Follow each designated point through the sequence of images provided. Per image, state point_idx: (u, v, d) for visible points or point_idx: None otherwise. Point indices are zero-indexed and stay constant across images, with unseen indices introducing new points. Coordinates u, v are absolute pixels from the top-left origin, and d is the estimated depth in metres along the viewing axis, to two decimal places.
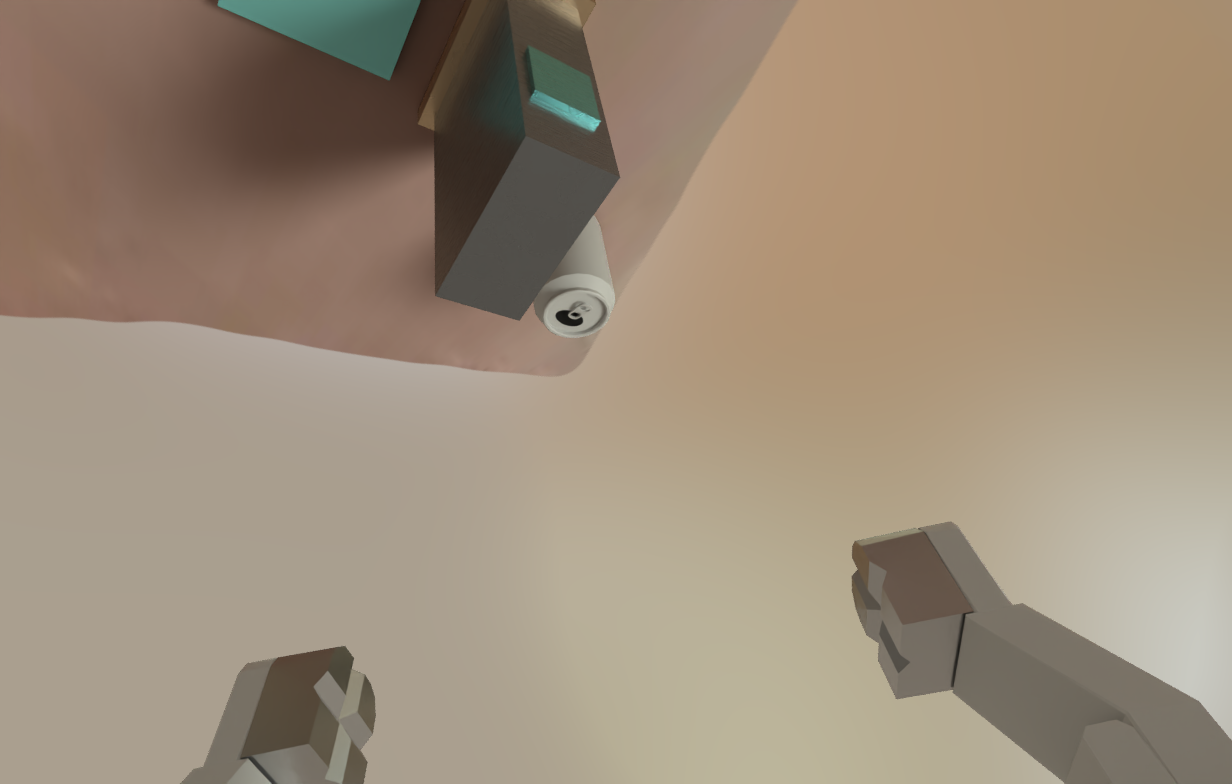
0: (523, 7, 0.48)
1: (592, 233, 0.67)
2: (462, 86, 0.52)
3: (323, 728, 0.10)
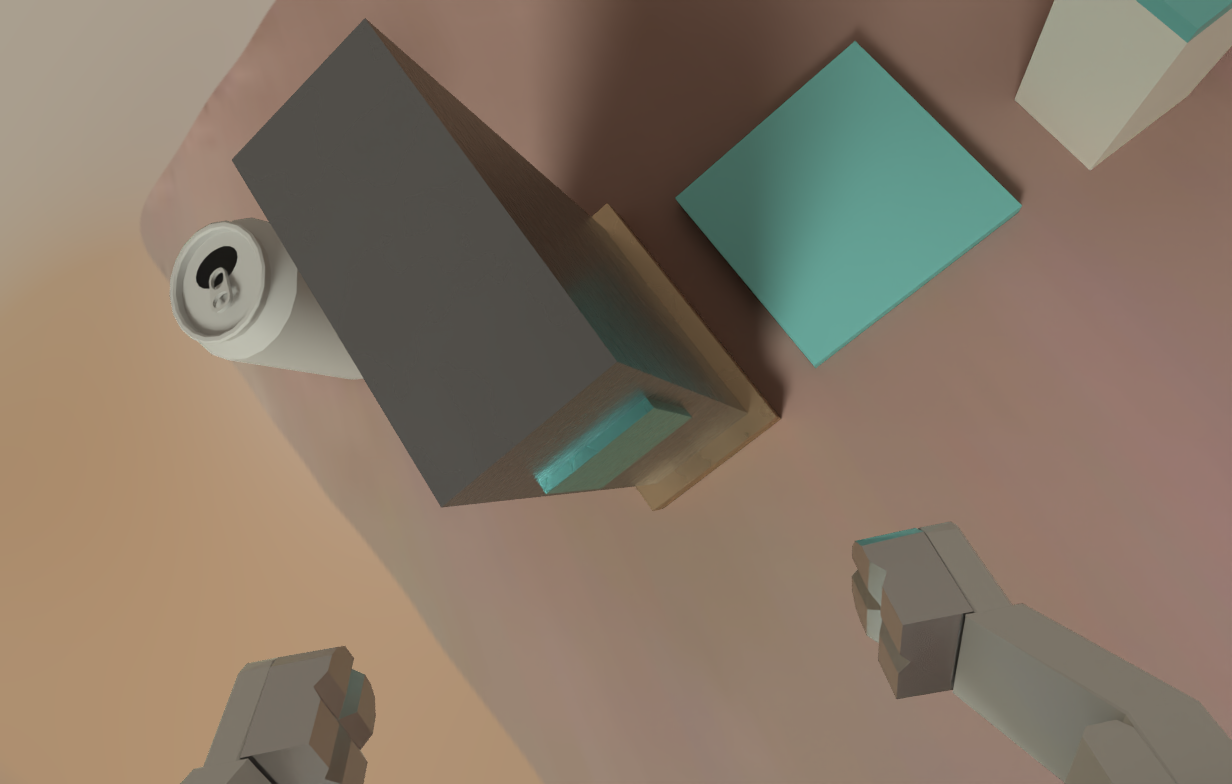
0: (710, 423, 0.32)
1: (344, 366, 0.42)
2: (641, 287, 0.35)
3: (323, 728, 0.10)
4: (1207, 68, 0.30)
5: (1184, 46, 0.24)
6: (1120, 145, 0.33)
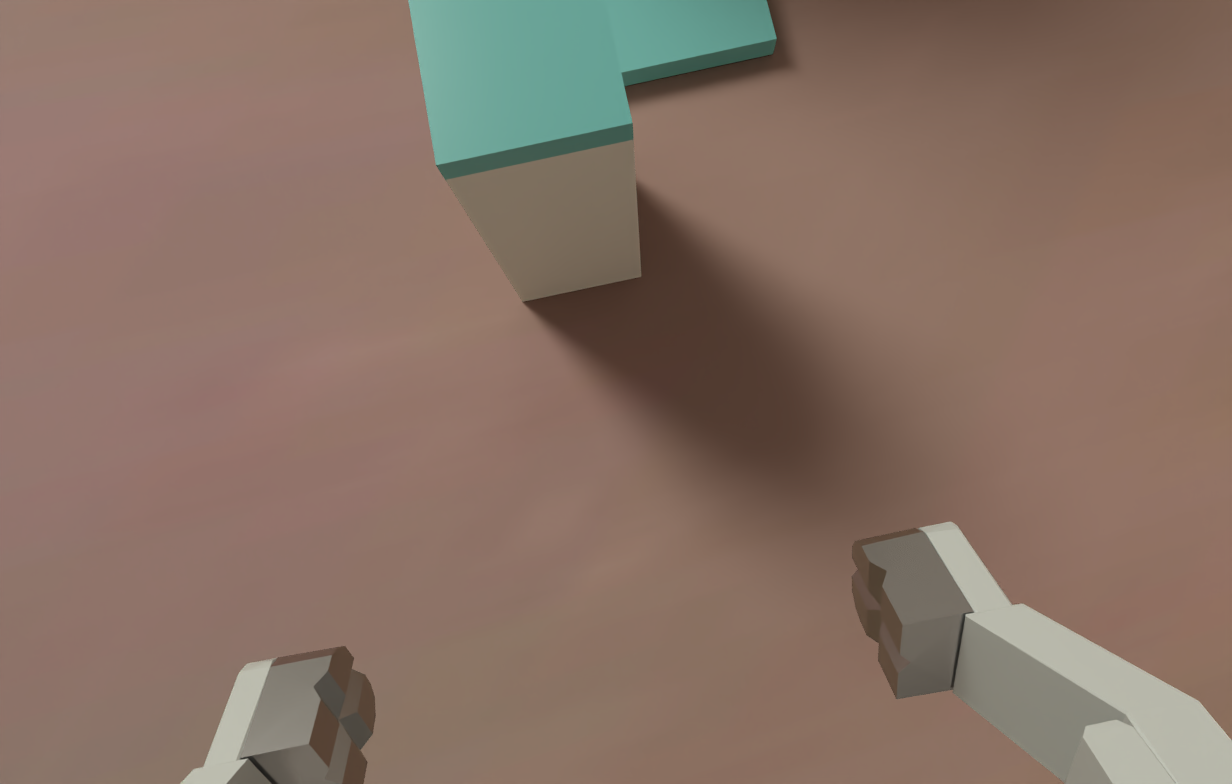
0: None
1: None
2: None
3: (323, 728, 0.10)
4: None
5: None
6: None
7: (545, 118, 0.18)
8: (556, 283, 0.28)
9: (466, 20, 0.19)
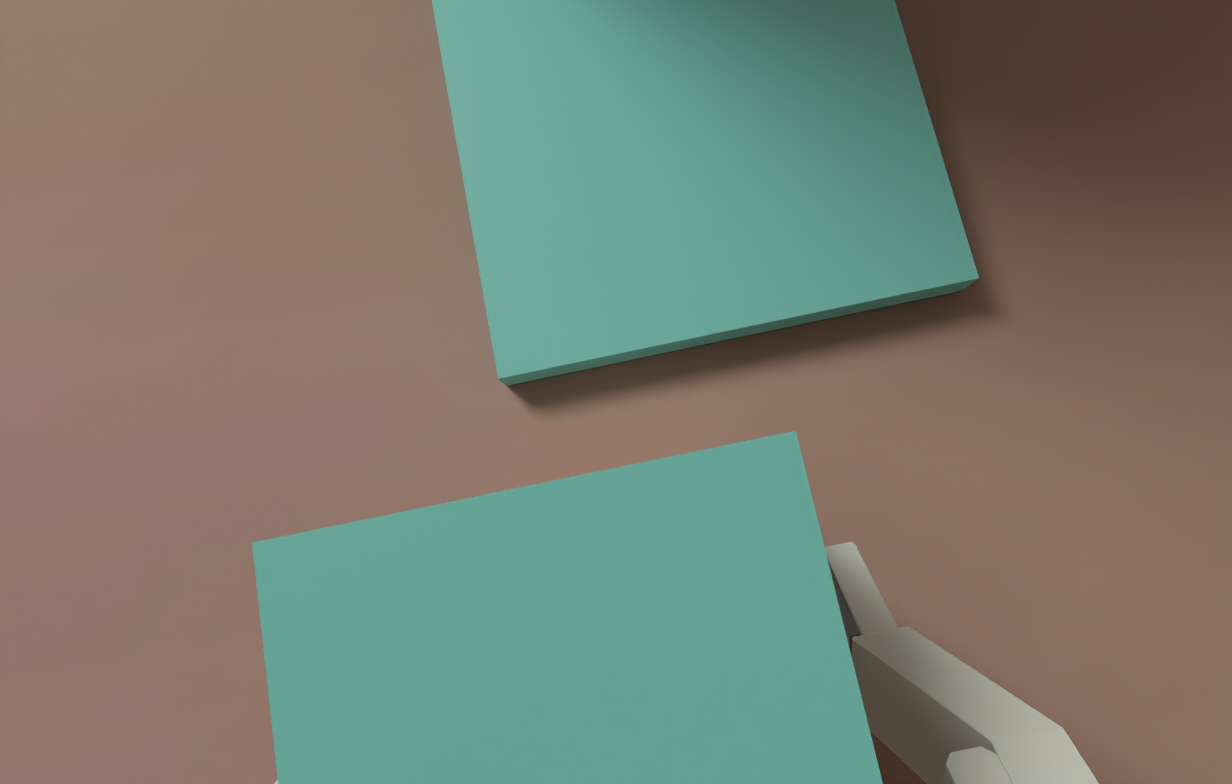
0: None
1: None
2: None
3: None
4: None
5: None
6: None
7: None
8: None
9: (421, 650, 0.06)
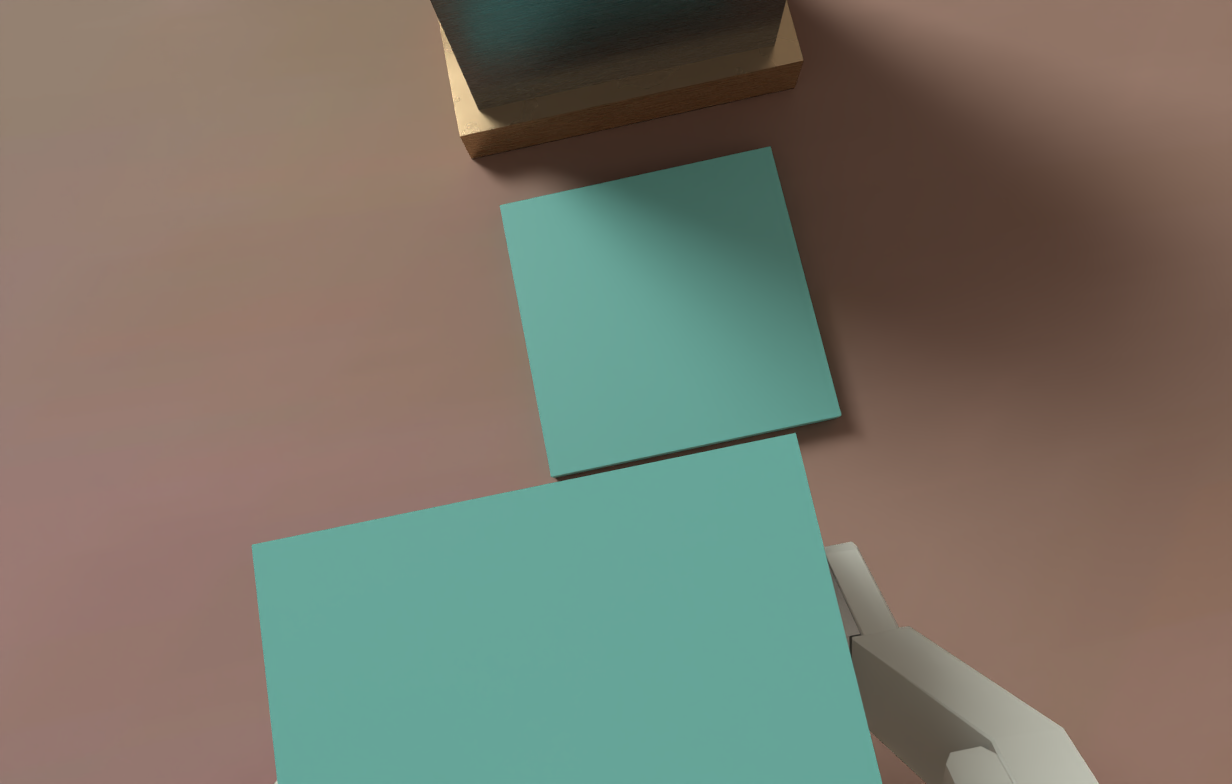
0: None
1: None
2: (646, 13, 0.27)
3: None
4: None
5: None
6: None
7: None
8: None
9: (420, 652, 0.06)
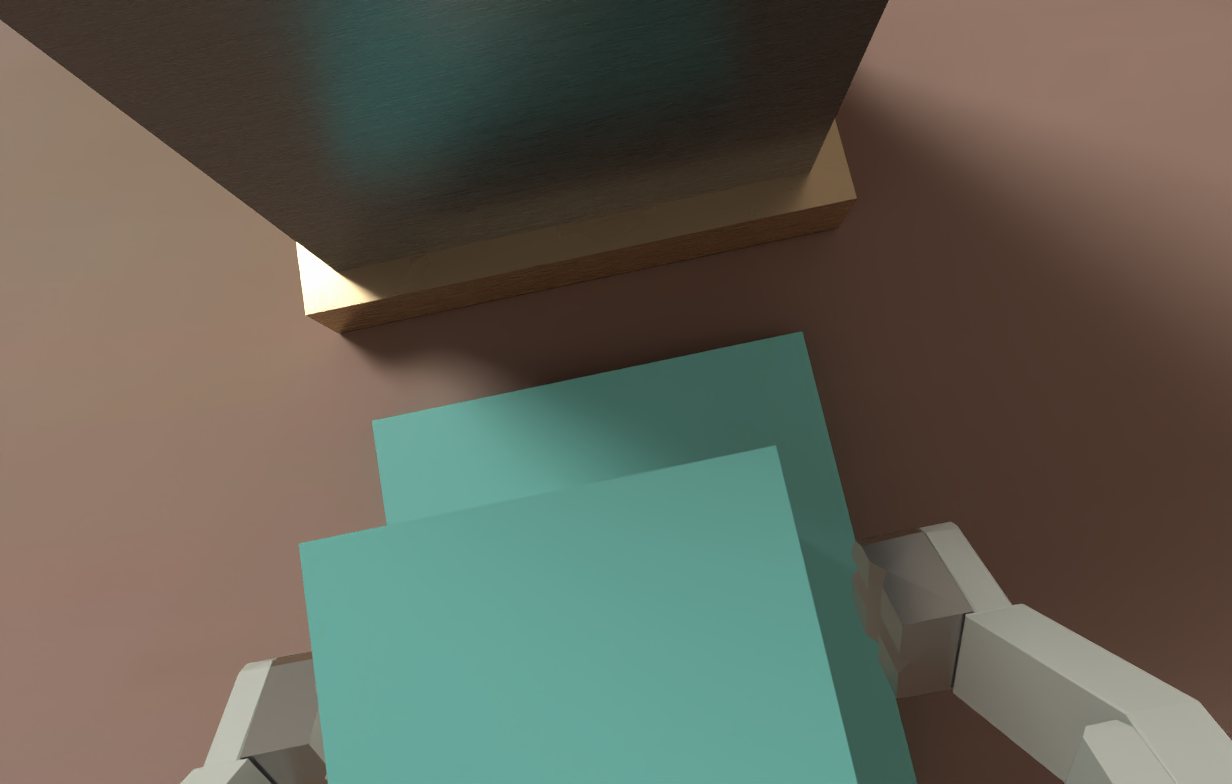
0: None
1: None
2: (593, 145, 0.16)
3: None
4: None
5: None
6: None
7: None
8: None
9: (448, 636, 0.07)
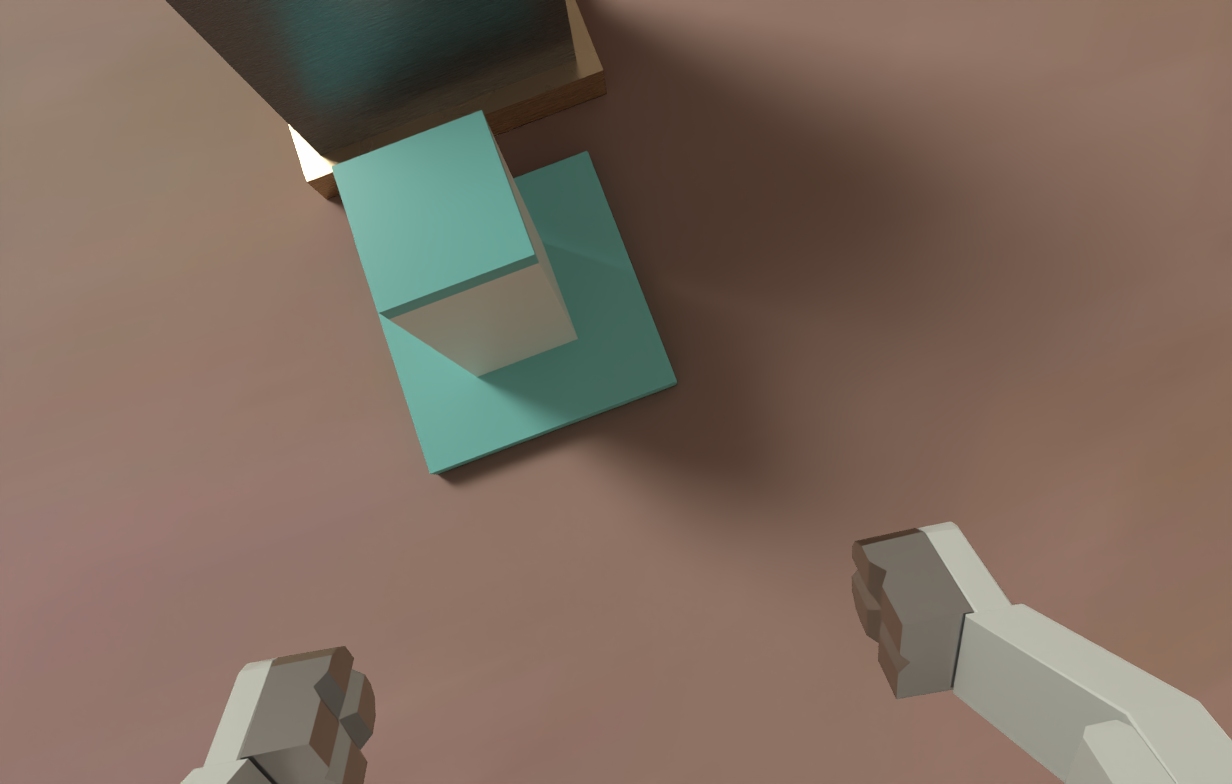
0: None
1: None
2: (443, 53, 0.30)
3: (323, 728, 0.10)
4: None
5: None
6: None
7: (462, 260, 0.22)
8: (503, 359, 0.32)
9: (384, 185, 0.22)
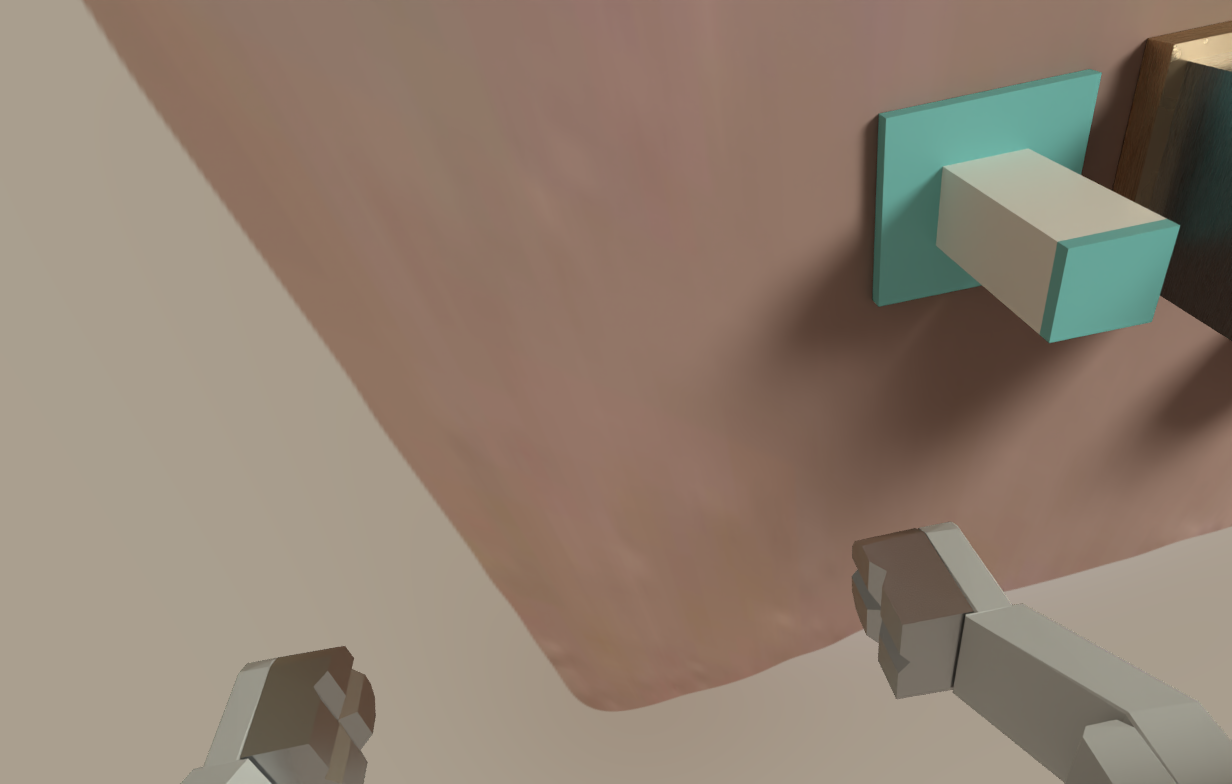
0: None
1: None
2: (1200, 216, 0.40)
3: (323, 728, 0.10)
4: (981, 182, 0.39)
5: (1162, 217, 0.33)
6: (1010, 156, 0.41)
7: (1069, 302, 0.34)
8: (951, 201, 0.41)
9: (1145, 259, 0.33)
